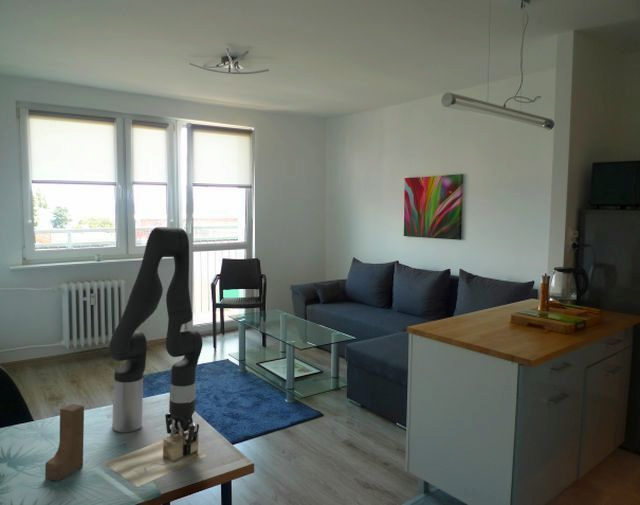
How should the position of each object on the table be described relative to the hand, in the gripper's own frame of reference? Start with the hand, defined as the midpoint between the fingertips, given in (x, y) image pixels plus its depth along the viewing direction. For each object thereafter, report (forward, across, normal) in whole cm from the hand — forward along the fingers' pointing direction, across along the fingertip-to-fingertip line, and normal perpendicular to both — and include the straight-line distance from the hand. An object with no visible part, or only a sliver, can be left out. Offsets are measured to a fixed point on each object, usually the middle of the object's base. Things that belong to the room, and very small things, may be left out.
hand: (180, 451), depth 142 cm
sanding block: (+1, 0, 0) cm, 1 cm away
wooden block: (+2, -17, -26) cm, 31 cm away
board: (+2, -3, -6) cm, 7 cm away
